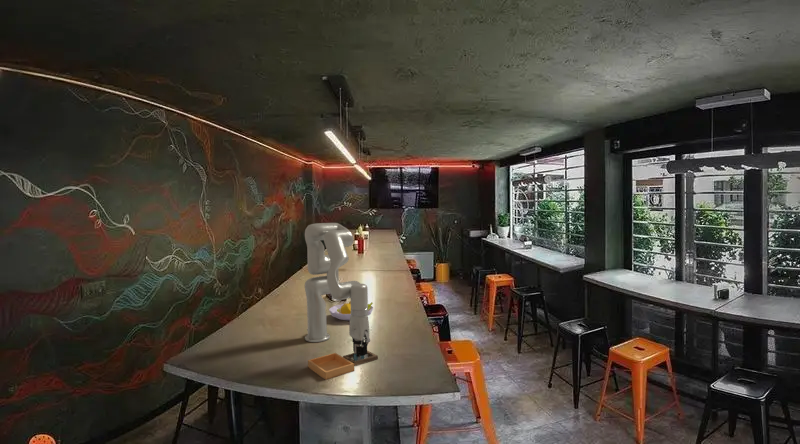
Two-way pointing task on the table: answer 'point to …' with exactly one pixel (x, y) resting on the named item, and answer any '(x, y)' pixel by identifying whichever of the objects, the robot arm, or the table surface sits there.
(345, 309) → the fruit bowl
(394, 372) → the table surface
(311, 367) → the parts tray
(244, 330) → the table surface
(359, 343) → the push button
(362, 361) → the component holder
